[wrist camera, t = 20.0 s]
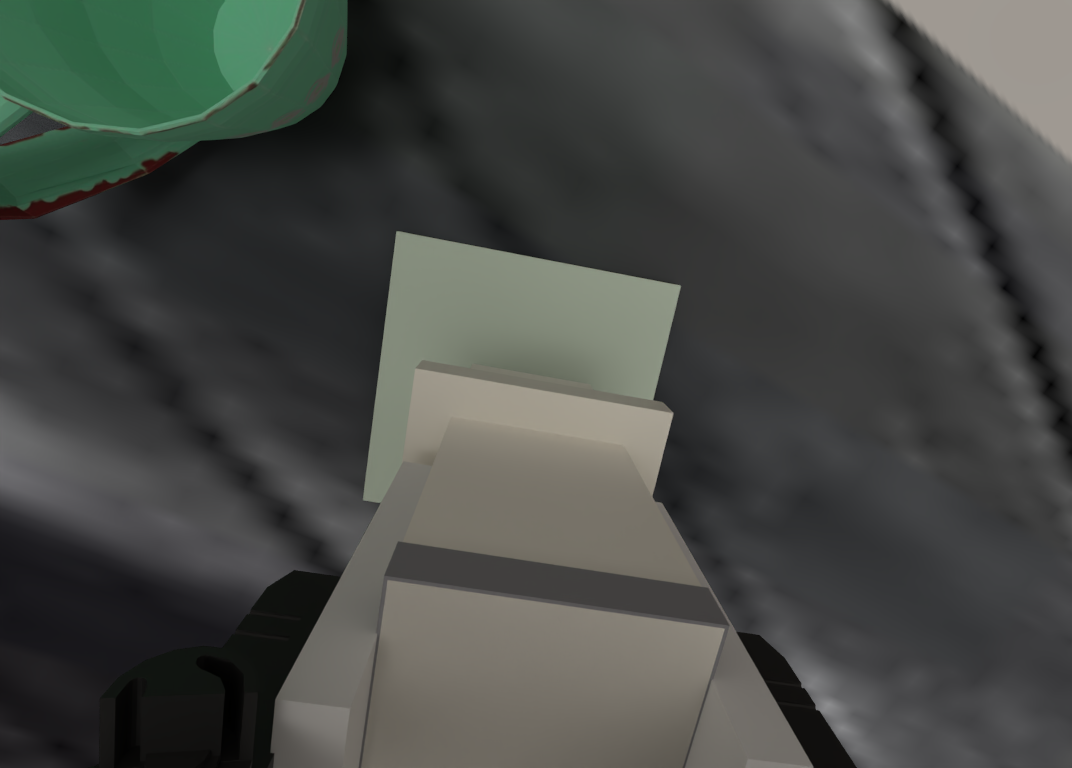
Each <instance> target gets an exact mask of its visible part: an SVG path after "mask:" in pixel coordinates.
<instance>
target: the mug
mask: <svg viewBox="0 0 1072 768" xmlns="http://www.w3.org/2000/svg"><path fill="white" fill-rule="evenodd" d="M346 55H347V0H0V137H1V136H2V135H4V134H5V133H6V132H8V131H9V130H10V129H11V128H13V127H14V126H15V125H17V124H18V123H19V122H21V121H22V120H23V119H25V118H26V117H27V116H28V115H30V114H31V113H32V112H36V113H38V114H40V115H43V116H45V117H47V118H50V119H52V120H54V121H57V122H59V123H61V124H64V125H66V126H67V127H64V128H60V129H56V130H53V131H49V132H46V133H42V134H38V135H35V136H31V137H28V138H24V139H20V140H17V141H13V142H9V143H6V144H2V145H0V220H9V219H34V218H38V217H40V216H43V215H45V214H48V213H50V212H53V211H55V210H58V209H60V208H63V207H66V206H68V205H71V204H73V203H76V202H78V201H81V200H83V199H86V198H88V197H91V196H94V195H96V194H99V193H101V192H104V191H106V190H109V189H111V188H114V187H116V186H119V185H122V184H124V183H127V182H129V181H132V180H134V179H137V178H139V177H142V176H145V175H147V174H150V173H151V172H153V171H154V170H156V169H157V168H159V167H160V166H162V165H163V164H165V163H167V162H168V161H170V160H171V159H173V158H174V157H176V156H177V155H179V154H180V153H182V152H183V151H185V150H187V149H188V148H190V147H191V146H193V145H194V144H196V143H197V142H199V141H201V140H220V139H234V138H243V137H247V136H251V135H255V134H260V133H264V132H268V131H272V130H277V129H280V128H283V127H286V126H289V125H293V124H296V123H297V122H299V121H300V120H302V119H303V118H305V117H306V116H308V115H309V114H311V113H312V112H314V111H315V110H317V109H318V108H320V107H321V106H322V105H323V104H324V102H325V101H326V100H327V98H328V97H329V96H330V94H331V93H332V92H333V90H334V89H335V87H336V86H337V83H338V80H339V77H340V74H341V71H342V68H343V65H344V62H345V58H346Z"/></svg>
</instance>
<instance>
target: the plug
mask: <svg viewBox="0 0 1072 768" xmlns="http://www.w3.org/2000/svg"><path fill="white" fill-rule="evenodd" d="M672 417H673V412H672V411H671V410H670V409H669V408H668V407H667V406H666V405H665V404H664V403H663V402H659V401H653V400H648V399H642V398H636V397H631V396H625V395H619V394H614V393H608V392H602V391H596V390H593V389H592V387H591V385H590V384H586V383H580V382H574V381H569V380H563V379H557V378H552V377H546V376H540V375H535V374H529V373H523V372H517V371H512V370H506V369H500V368H495V367H489V366H483V365H478V364H472V366H471V368H465V367H459V366H454V365H448V364H442V363H437V362H431V361H425V360H422V361H421V362H420V363H419V364H418V366H417V367H416V368H415V373H414V380H413V387H412V395H411V402H410V409H409V416H408V423H407V430H406V437H405V444H404V451H403V458H402V463H403V461H404V462H411V463H417V464H423V465H429V466H432V468H431V470H430V473H429V476H428V478H427V481H426V483H425V486H424V488H423V491H422V494H421V496H420V499H419V501H418V504H417V506H416V509H415V511H414V514H413V517H412V519H411V522H410V524H409V527H408V529H407V532H406V534H405V537H404V540H403V542H399V541H398V543H397V545H396V548H395V550H394V552H393V555H392V557H391V560H390V562H389V565H388V567H387V570H386V572H385V575H384V579H383V587H382V594H381V601H380V608H379V615H378V622H377V629H376V634H377V640H376V647H375V654H374V661H373V668H372V676H371V683H370V690H369V697H368V704H367V711H366V718H365V725H364V733H363V740H362V747H361V754H360V761H359V768H685V766H686V762H687V759H688V756H689V753H690V749H691V746H692V743H693V739H694V736H695V733H696V730H697V726H698V723H699V720H700V717H701V713H702V710H703V707H704V703H705V700H706V697H707V694H708V690H709V687H710V684H711V680H712V679H714V676H715V672H716V669H717V666H718V663H719V659H720V656H721V653H722V650H723V646H724V643H725V640H726V637H727V633H728V630H729V627H730V625H729V623H728V622H727V620H726V618H725V616H724V615H723V613H722V611H721V609H720V608H719V606H718V604H717V602H716V601H715V599H714V597H713V595H712V594H711V592H710V590H709V588H706V587H702V586H701V584H700V583H699V581H698V579H697V577H696V575H695V573H694V572H693V570H692V568H691V566H690V564H689V563H688V561H687V559H686V557H685V555H684V554H683V552H682V550H681V548H680V546H679V544H678V543H677V541H676V539H675V537H674V535H673V534H672V532H671V530H670V528H669V526H668V525H667V523H666V521H665V519H664V517H663V515H662V514H661V512H660V510H659V508H658V506H657V505H656V503H655V501H654V499H653V497H652V496H653V492H654V488H655V484H656V480H657V476H658V472H659V468H660V464H661V460H662V456H663V452H664V448H665V444H666V440H667V437H668V433H669V429H670V425H671V421H672Z"/></svg>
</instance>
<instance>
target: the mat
mask: <svg viewBox="0 0 1072 768" xmlns="http://www.w3.org/2000/svg"><path fill="white" fill-rule="evenodd" d="M680 288H681V286H680V285H675V284H670V283H665V282H659V281H654V280H649V279H644V278H639V277H633V276H628V275H623V274H618V273H613V272H607V271H602V270H597V269H592V268H587V267H581V266H576V265H571V264H566V263H561V262H555V261H550V260H545V259H540V258H535V257H529V256H524V255H519V254H514V253H509V252H503V251H498V250H493V249H488V248H483V247H477V246H472V245H467V244H462V243H457V242H451V241H446V240H441V239H436V238H431V237H425V236H420V235H415V234H410V233H405V232H399V231H397V232H396V240H395V248H394V256H393V264H392V272H391V280H390V288H389V295H388V303H387V311H386V319H385V327H384V335H383V343H382V351H381V359H380V367H379V375H378V383H377V391H376V399H375V407H374V415H373V423H372V431H371V439H370V447H369V455H368V463H367V471H366V479H365V487H364V495H363V500H364V501H370V502H377V503H381V502H382V500H383V498H384V496H385V494H386V493H387V491H388V489H389V487H390V485H391V483H392V481H393V480H394V478H395V476H396V474H397V472H398V470H399V468H400V466H401V465H402V458H403V451H404V444H405V437H406V430H407V423H408V416H409V409H410V402H411V395H412V387H413V380H414V373H415V368H416V367H417V366H418V364H419V363H420V362H421V361H422V360H425V361H431V362H437V363H442V364H448V365H454V366H459V367H465V368H471V366H472V364H478V365H483V366H489V367H495V368H500V369H506V370H512V371H517V372H523V373H529V374H535V375H540V376H546V377H552V378H557V379H563V380H569V381H574V382H580V383H586V384H590V385H591V387H592V389H593V390H596V391H602V392H608V393H614V394H619V395H625V396H631V397H636V398H642V399H648V400H653V398H654V394H655V390H656V386H657V382H658V378H659V374H660V370H661V366H662V362H663V357H664V353H665V349H666V345H667V341H668V337H669V333H670V329H671V325H672V321H673V316H674V312H675V308H676V304H677V300H678V296H679V292H680Z"/></svg>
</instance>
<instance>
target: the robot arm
mask: <svg viewBox="0 0 1072 768" xmlns="http://www.w3.org/2000/svg"><path fill="white" fill-rule="evenodd" d="M431 468H432V466H429V465H423V464H417V463H411V462H404V461H403V463H402V465H401V466H400V468H399V470H398V472H397V474H396V476H395V478H394V480H393V481H392V483H391V485H390V487H389V489H388V491H387V493H386V494H385V496H384V498H383V500H382V502H381V504H380V506H379V507H378V509H377V511H376V513H375V515H374V517H373V519H372V520H371V522H370V524H369V526H368V528H367V530H366V532H365V533H364V535H363V537H362V539H361V541H360V543H359V545H358V546H357V548H356V550H355V552H354V554H353V556H352V558H351V559H350V561H349V563H348V565H347V567H346V569H345V571H344V573H343V574H342V576H341V577H338V576H331V575H324V574H317V573H310V572H303V571H296V570H294V571H292V572H291V573H289V574H288V575H286V576H284V577H283V578H281V579H280V580H278V581H276V582H275V583H273V584H272V585H270V586H269V587H267V588H266V590H265V591H264V592H263V594H262V595H261V597H260V598H259V599H258V601H257V602H256V603H255V605H254V606H253V607H252V609H251V611H250V614H249V615H248V614H247V615H246V617H245V618H244V619H243V621H242V622H241V624H240V625H239V626H238V628H237V629H236V632H235V634H234V635H233V634H232V636H231V637H230V638H229V640H228V641H227V642H226V644H225V645H224V647H223V648H217V647H208V646H200V647H192V648H185V649H177V650H173V651H170V652H167V653H165V654H162V655H159V656H156V657H154V658H151V659H148V660H145V661H144V662H142V663H141V664H139V665H137V666H136V667H134V668H133V669H131V670H129V671H128V672H126V673H125V674H123V675H122V676H120V677H119V678H118V679H117V680H116V681H115V682H114V683H113V684H112V685H111V687H110V688H109V689H108V690H107V691H106V692H105V693H104V694H103V695H102V697H101V698H100V740H99V764H98V765H96V766H93V767H89V768H359V761H360V754H361V747H362V740H363V733H364V725H365V718H366V711H367V704H368V697H369V690H370V683H371V676H372V668H373V661H374V654H375V647H376V640H377V634H376V629H377V622H378V615H379V608H380V601H381V594H382V587H383V579H384V575H385V572H386V570H387V567H388V565H389V562H390V560H391V557H392V555H393V552H394V550H395V548H396V545H397V543H398V541H399V542H403V540H404V537H405V534H406V532H407V529H408V527H409V524H410V522H411V519H412V517H413V514H414V511H415V509H416V506H417V504H418V501H419V499H420V496H421V494H422V491H423V488H424V486H425V483H426V481H427V478H428V476H429V473H430V470H431ZM655 503H656V505H657V506H658V508H659V510H660V512H661V514H662V515H663V517H664V519H665V521H666V523H667V525H668V526H669V528H670V530H671V532H672V534H673V535H674V537H675V539H676V541H677V543H678V544H679V546H680V548H681V550H682V552H683V554H684V555H685V557H686V559H687V561H688V563H689V564H690V566H691V568H692V570H693V572H694V573H695V575H696V577H697V579H698V581H699V583H700V584H701V586H702V587H706V588H709V590H710V592H711V594H712V595H713V597H714V599H715V601H716V602H717V604H718V606H719V608H720V609H721V611H722V613H723V615H724V616H725V618H726V620H727V622H728V623H729V625H730V627H729V630H728V633H727V637H726V640H725V643H724V646H723V650H722V653H721V656H720V659H719V663H718V666H717V669H716V672H715V676H714V679H712V680H711V684H710V687H709V690H708V694H707V697H706V700H705V703H704V707H703V710H702V713H701V717H700V720H699V723H698V726H697V730H696V733H695V736H694V739H693V743H692V746H691V749H690V753H689V756H688V759H687V762H686V766H685V768H857V767H856V766H855V764H854V763H853V761H852V760H851V758H850V757H849V755H848V754H847V752H846V751H845V749H844V748H843V746H842V745H841V743H840V742H839V740H838V739H837V737H836V735H835V734H834V732H833V731H832V729H831V728H830V726H829V725H828V723H827V722H826V720H825V719H824V717H823V716H822V714H821V713H820V711H818V710H816V709H815V703H814V702H813V700H812V699H811V697H810V696H809V694H808V693H807V691H806V690H805V689H804V688H801V682H800V681H799V679H798V678H797V676H796V675H795V673H794V672H793V670H792V668H791V667H790V665H789V664H788V662H787V661H786V659H785V658H784V657H783V656H782V655H781V654H780V653H779V652H777V651H776V650H775V649H774V648H773V647H772V646H771V645H770V644H769V643H767V642H766V641H765V640H764V639H763V638H762V637H761V636H760V635H755V634H748V633H741V632H736V631H735V629H734V628H733V626H732V624H731V622H730V621H729V619H728V617H727V615H726V614H725V612H724V610H723V608H722V607H721V605H720V603H719V602H718V600H717V598H716V596H715V595H714V593H713V591H712V589H711V588H710V586H709V584H708V582H707V581H706V579H705V577H704V575H703V574H702V572H701V570H700V568H699V567H698V565H697V563H696V561H695V560H694V558H693V556H692V554H691V553H690V551H689V549H688V547H687V546H686V544H685V542H684V541H683V539H682V537H681V535H680V534H679V532H678V530H677V528H676V527H675V525H674V523H673V521H672V520H671V518H670V516H669V514H668V513H667V511H666V509H665V507H664V506H663V504H662V503H659V502H655Z"/></svg>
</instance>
